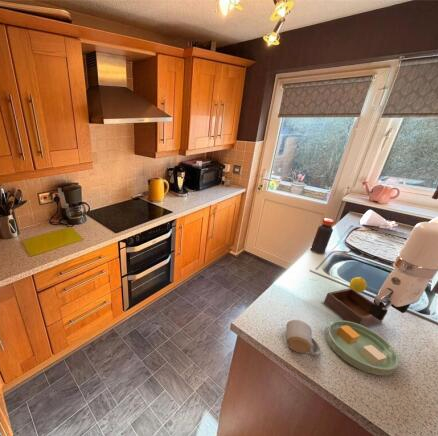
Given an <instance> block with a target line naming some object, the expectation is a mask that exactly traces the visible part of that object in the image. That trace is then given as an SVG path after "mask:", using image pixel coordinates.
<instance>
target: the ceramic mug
mask: <svg viewBox="0 0 438 436" xmlns="http://www.w3.org/2000/svg"><path fill="white" fill-rule="evenodd" d="M285 328H286V330H285V331H286V332H285V333H286V334H285V335H286V338H285V339H286V344H287V346H288V348H290V349H291V350H293V352H296V353H300V354H307V353H308V354H310V355H312V356H318V355H320V353H321V347H320V345H319V343H318V342H317V340H315V339H314V338H313V331H312V330H313V329H312V328H311V327H310V325H309V324H308V323H306V322H304V321H302V320H299V319H291V320H289V321H288V322H287V323H286V327H285ZM312 346H314V348H315V351H313V350H312Z"/></svg>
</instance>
